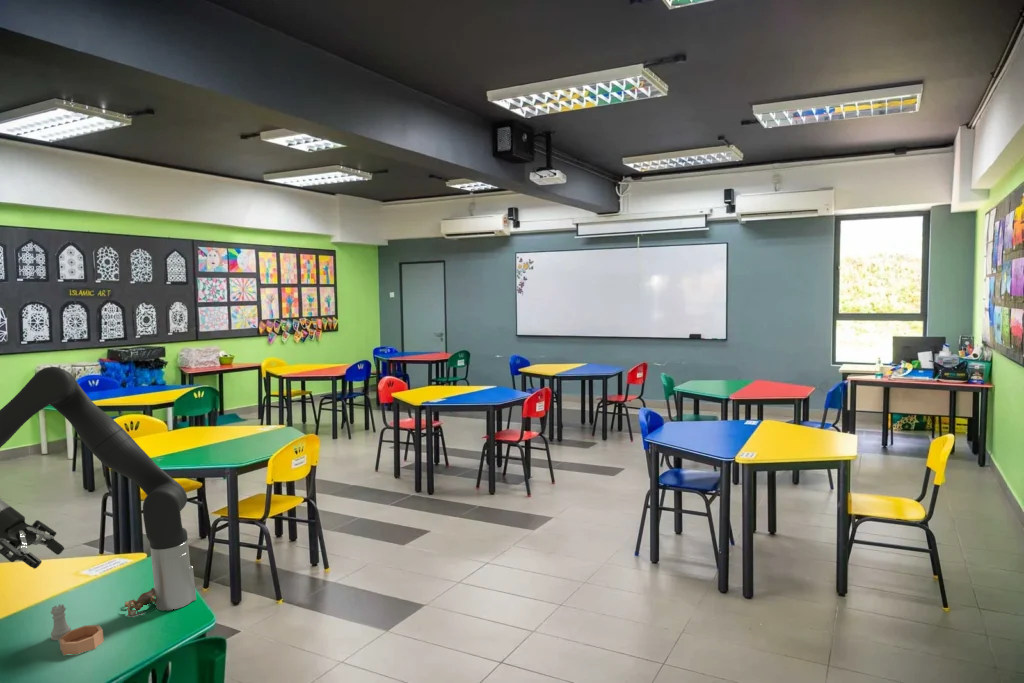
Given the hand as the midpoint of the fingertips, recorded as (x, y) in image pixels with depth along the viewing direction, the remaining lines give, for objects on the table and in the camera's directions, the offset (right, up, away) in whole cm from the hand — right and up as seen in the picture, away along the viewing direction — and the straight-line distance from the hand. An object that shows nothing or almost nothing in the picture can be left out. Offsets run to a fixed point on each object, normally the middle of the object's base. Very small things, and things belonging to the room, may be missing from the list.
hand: (50, 558), depth 165 cm
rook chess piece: (0, -22, +4) cm, 22 cm away
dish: (+8, -21, -1) cm, 23 cm away
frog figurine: (+12, -20, +19) cm, 30 cm away
